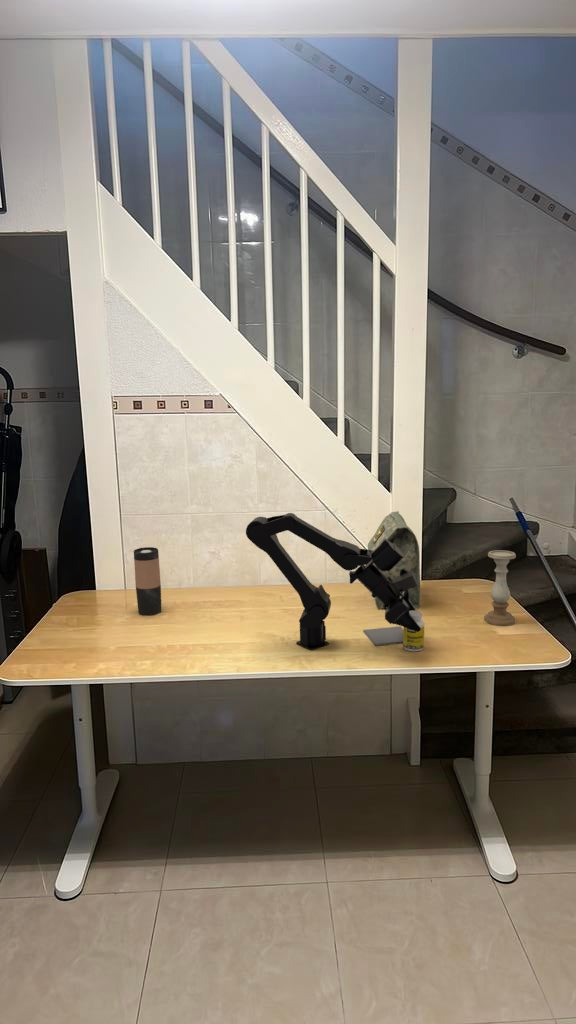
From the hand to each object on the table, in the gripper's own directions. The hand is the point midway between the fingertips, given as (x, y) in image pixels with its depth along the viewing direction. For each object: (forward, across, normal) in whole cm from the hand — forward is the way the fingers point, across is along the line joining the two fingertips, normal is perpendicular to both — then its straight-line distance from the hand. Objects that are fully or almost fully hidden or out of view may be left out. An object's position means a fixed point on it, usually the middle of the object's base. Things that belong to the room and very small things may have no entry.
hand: (419, 624), depth 181 cm
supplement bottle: (+4, 0, +6) cm, 7 cm away
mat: (-1, +7, +10) cm, 13 cm away
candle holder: (+22, +23, -12) cm, 34 cm away
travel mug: (-54, +22, +63) cm, 86 cm away
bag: (0, +42, +10) cm, 43 cm away
